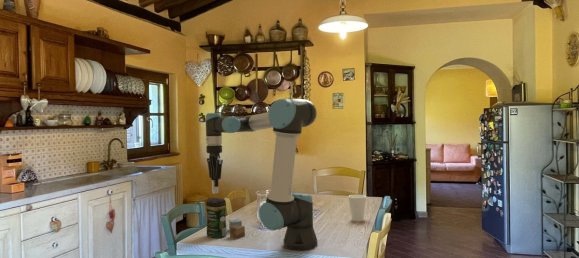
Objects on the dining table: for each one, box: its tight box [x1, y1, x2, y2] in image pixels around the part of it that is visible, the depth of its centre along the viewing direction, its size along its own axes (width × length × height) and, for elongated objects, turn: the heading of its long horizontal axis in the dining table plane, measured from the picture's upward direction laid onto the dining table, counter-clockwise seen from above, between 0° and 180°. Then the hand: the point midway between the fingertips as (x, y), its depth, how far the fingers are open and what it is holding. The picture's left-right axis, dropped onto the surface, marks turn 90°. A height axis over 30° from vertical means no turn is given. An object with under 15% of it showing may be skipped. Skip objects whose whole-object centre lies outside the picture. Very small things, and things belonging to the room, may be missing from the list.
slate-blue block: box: [228, 218, 243, 231], centre depth 204 cm, size 5×5×5 cm
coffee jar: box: [205, 197, 228, 239], centre depth 194 cm, size 10×8×19 cm
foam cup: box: [348, 194, 367, 222], centre depth 218 cm, size 10×9×13 cm
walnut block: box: [229, 225, 246, 240], centre depth 192 cm, size 5×5×5 cm
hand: (215, 193), depth 194 cm, fingers closed
